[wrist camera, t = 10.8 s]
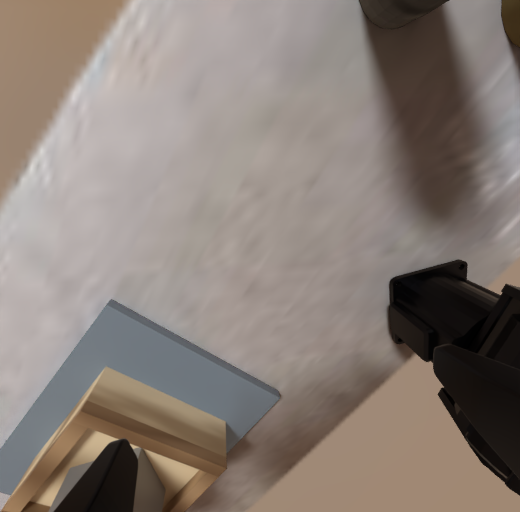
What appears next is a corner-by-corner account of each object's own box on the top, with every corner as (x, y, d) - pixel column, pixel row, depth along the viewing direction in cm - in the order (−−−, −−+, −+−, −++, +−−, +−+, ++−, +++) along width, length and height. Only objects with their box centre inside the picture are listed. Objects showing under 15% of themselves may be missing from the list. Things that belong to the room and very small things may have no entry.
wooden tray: (105, 366, 20) (80, 411, 16) (225, 421, 23) (226, 468, 19) (33, 460, 21) (-5, 519, 18) (154, 498, 25) (143, 554, 21)
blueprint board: (111, 299, 19) (106, 304, 18) (278, 390, 24) (280, 398, 23) (-18, 474, 22) (-27, 485, 21) (152, 522, 27) (150, 532, 26)
